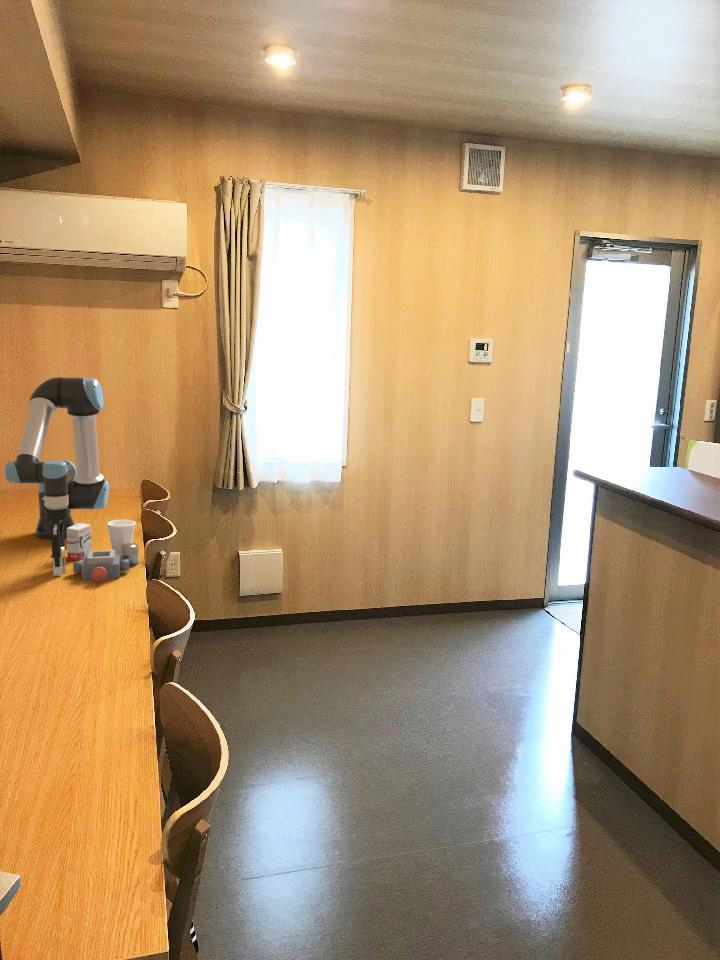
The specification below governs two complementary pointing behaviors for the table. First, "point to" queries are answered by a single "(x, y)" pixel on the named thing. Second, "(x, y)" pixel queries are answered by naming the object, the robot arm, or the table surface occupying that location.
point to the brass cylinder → (63, 559)
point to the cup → (121, 533)
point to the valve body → (101, 565)
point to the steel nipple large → (130, 553)
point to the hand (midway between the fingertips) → (59, 571)
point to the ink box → (78, 541)
